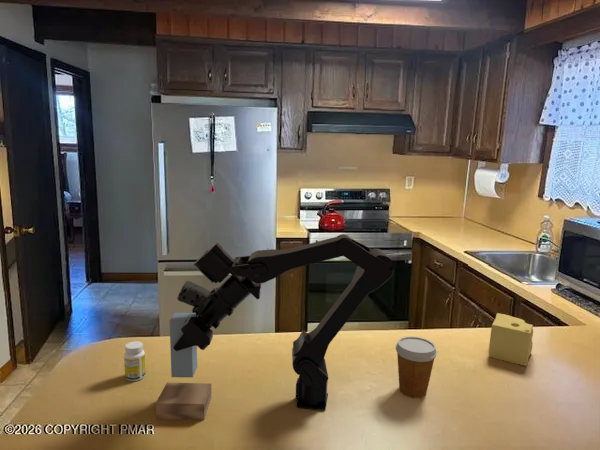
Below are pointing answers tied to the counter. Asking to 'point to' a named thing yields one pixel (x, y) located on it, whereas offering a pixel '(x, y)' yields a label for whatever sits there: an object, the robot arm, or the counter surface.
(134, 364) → the supplement bottle
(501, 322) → the cheese
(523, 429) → the counter surface
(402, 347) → the disposable coffee cup
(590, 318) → the counter surface
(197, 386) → the walnut block
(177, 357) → the slate block
